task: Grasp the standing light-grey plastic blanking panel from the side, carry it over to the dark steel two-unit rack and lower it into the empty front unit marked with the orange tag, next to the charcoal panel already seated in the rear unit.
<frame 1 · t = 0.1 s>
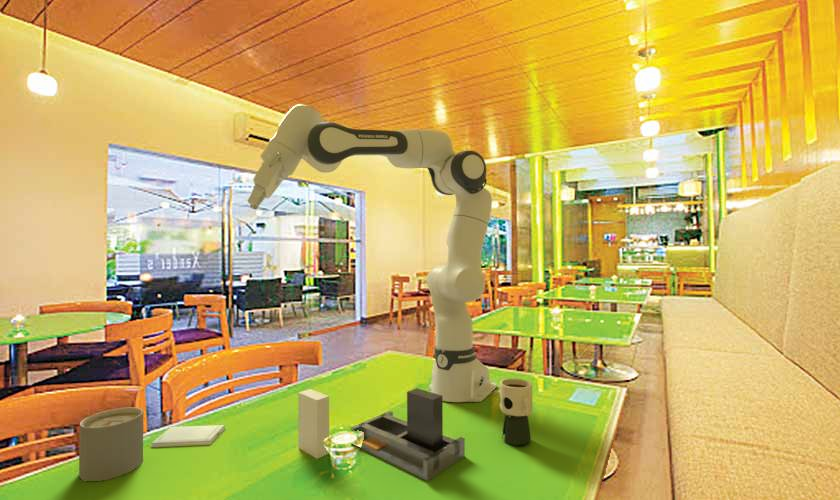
hand: (251, 206, 99), 54 cm above the table, tool tilted 30°, fingers open, 8 cm apart
coffee mug: (116, 464, 79), on the table
hard drive: (190, 440, 91), on the table
rack: (406, 450, 84), on the table
character mug: (516, 442, 88), on the table
blanking panel: (313, 450, 84), on the table
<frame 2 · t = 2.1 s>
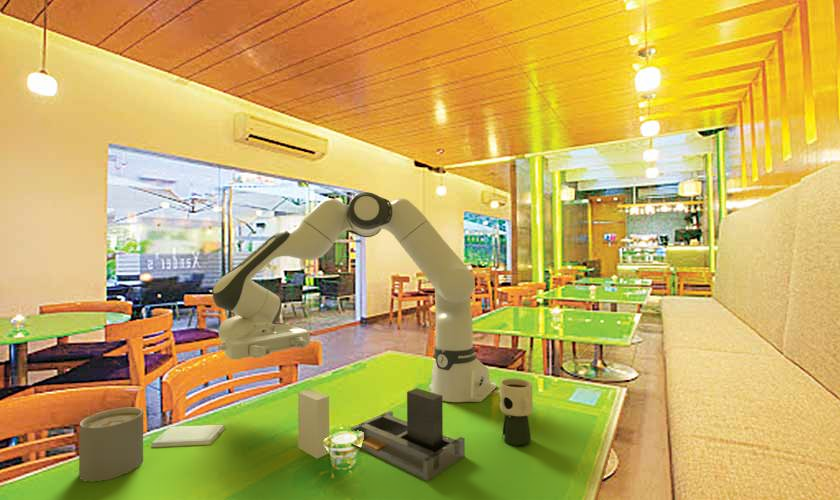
hand: (286, 347, 92), 20 cm above the table, tool horizontal, fingers open, 8 cm apart
nothing on the table moved.
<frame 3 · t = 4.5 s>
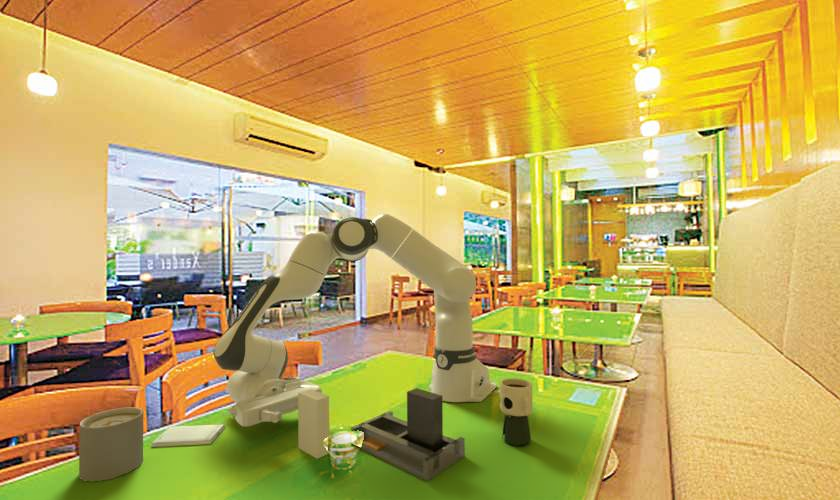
hand: (298, 411, 88), 7 cm above the table, tool horizontal, fingers open, 8 cm apart
nothing on the table moved.
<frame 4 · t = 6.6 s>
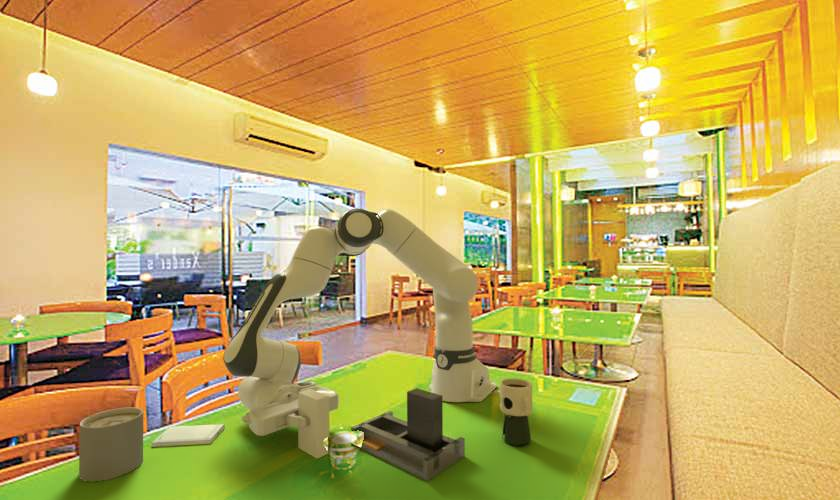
hand: (316, 419, 84), 7 cm above the table, tool horizontal, fingers closed on blanking panel, 3 cm apart
blanking panel: (313, 450, 84), on the table, touching gripper
everything else where it was.
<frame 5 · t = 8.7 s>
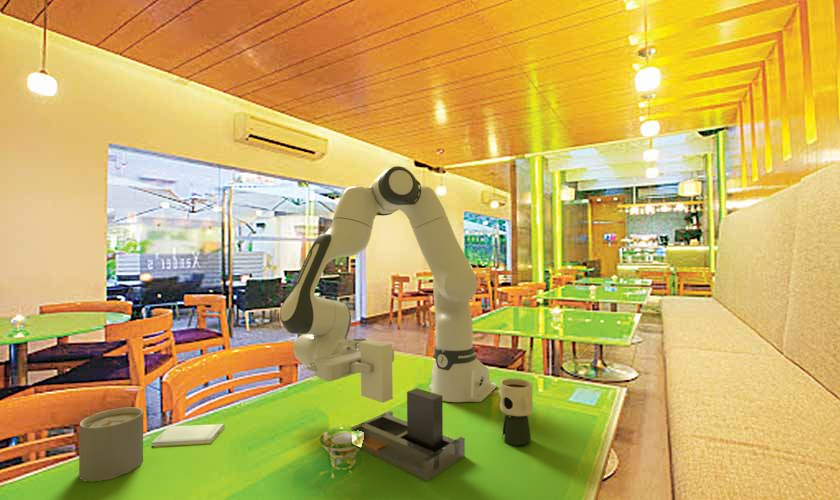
hand: (379, 367, 87), 17 cm above the table, tool horizontal, fingers closed on blanking panel, 3 cm apart
blanking panel: (376, 397, 87), point 10 cm above the table, touching gripper
everything else where it was.
when the fingers open (9 cm above the table, at t = 10.9 s): blanking panel stays where it is, resting on rack.
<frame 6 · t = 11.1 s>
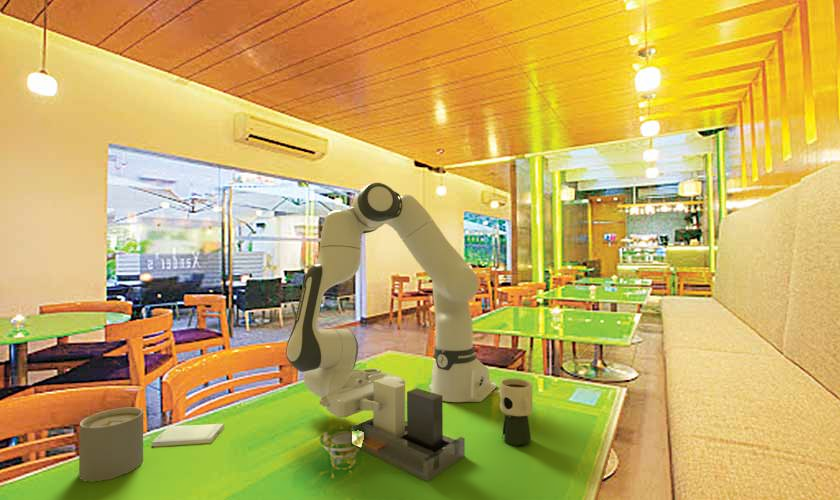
hand: (391, 402, 87), 9 cm above the table, tool horizontal, fingers open, 5 cm apart
blanking panel: (388, 437, 88), point 1 cm above the table, touching rack
everything else where it was.
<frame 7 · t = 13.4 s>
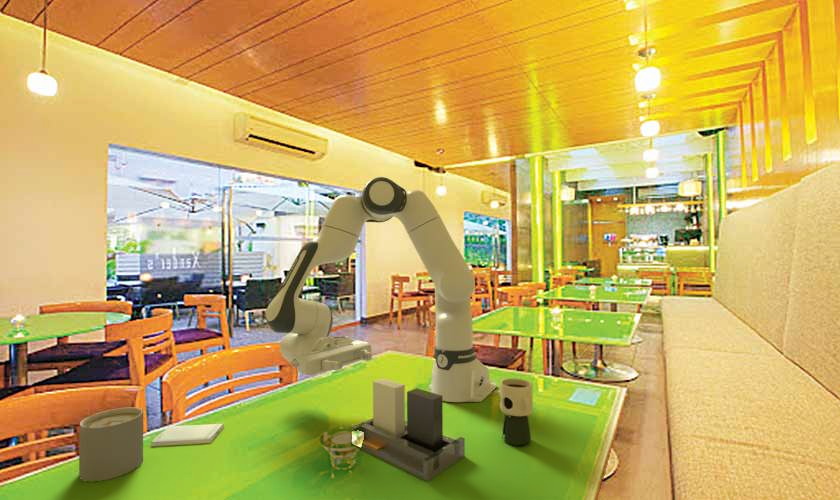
hand: (355, 361, 95), 16 cm above the table, tool horizontal, fingers open, 8 cm apart
nothing on the table moved.
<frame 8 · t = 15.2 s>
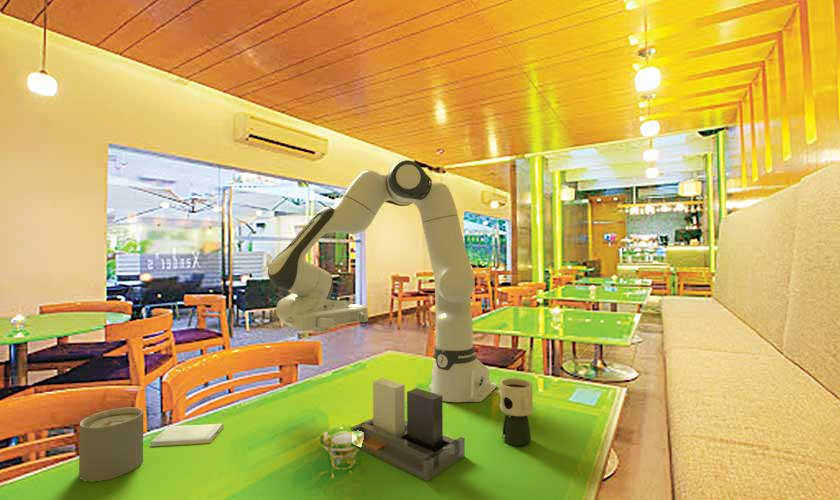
hand: (351, 320, 95), 26 cm above the table, tool horizontal, fingers open, 8 cm apart
nothing on the table moved.
at the end: blanking panel inside the target area on the rack (0.0 cm from its centre), point 1.2 cm above the rack's base; blanking panel tilted 0°; the gripper is holding nothing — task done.
